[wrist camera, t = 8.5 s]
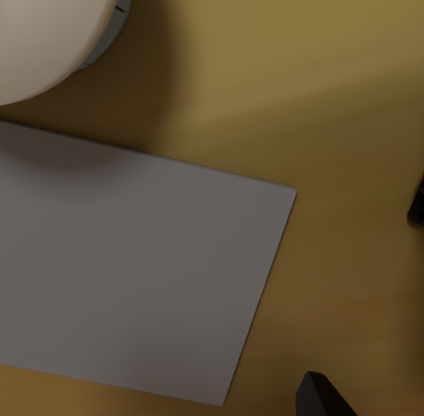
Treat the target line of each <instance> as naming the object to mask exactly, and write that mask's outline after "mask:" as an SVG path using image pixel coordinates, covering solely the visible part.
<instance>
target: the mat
mask: <svg viewBox="0 0 424 416" xmlns="http://www.w3.org/2000/svg"><path fill="white" fill-rule="evenodd" d="M296 193H297V189H296V188H293V187H289V186H285V185H281V184H276V183H272V182H268V181H264V180H259V179H255V178H251V177H246V176H242V175H238V174H234V173H229V172H225V171H221V170H216V169H212V168H208V167H204V166H199V165H195V164H191V163H187V162H182V161H178V160H174V159H169V158H165V157H161V156H157V155H152V154H148V153H144V152H139V151H135V150H131V149H127V148H122V147H118V146H114V145H109V144H105V143H101V142H97V141H92V140H88V139H84V138H80V137H75V136H71V135H67V134H62V133H58V132H54V131H50V130H45V129H41V128H37V127H32V126H28V125H24V124H20V123H15V122H11V121H7V120H2V119H0V364H5V365H10V366H15V367H20V368H25V369H30V370H36V371H41V372H46V373H51V374H56V375H61V376H66V377H71V378H77V379H82V380H87V381H92V382H97V383H102V384H107V385H113V386H118V387H123V388H128V389H133V390H138V391H143V392H148V393H154V394H159V395H164V396H169V397H174V398H179V399H184V400H189V401H195V402H200V403H205V404H210V405H215V406H220V407H222V406H223V403H224V400H225V397H226V394H227V392H228V389H229V386H230V383H231V380H232V377H233V374H234V371H235V369H236V366H237V363H238V360H239V357H240V354H241V351H242V348H243V346H244V343H245V340H246V337H247V334H248V331H249V328H250V325H251V323H252V320H253V317H254V314H255V311H256V308H257V305H258V302H259V300H260V297H261V294H262V291H263V288H264V285H265V282H266V279H267V277H268V274H269V271H270V268H271V265H272V262H273V259H274V256H275V254H276V251H277V248H278V245H279V242H280V239H281V236H282V233H283V231H284V228H285V225H286V222H287V219H288V216H289V213H290V210H291V208H292V205H293V202H294V199H295V196H296Z"/></svg>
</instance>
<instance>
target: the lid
mask: <svg viewBox="0 0 424 416" xmlns="http://www.w3.org/2000/svg"><path fill="white" fill-rule="evenodd" d="M116 3H117V0H0V105H7V104H12V103H16V102H20V101H23V100H27V99H30V98H32V97H35V96H37V95H39V94H41V93H44V92H46V91H48V90H49V89H51V88H52V87H54V86H56V85H57V84H59V83H60V82H62V81H63V80H65V79H66V78H67V77H68V76H69V75H70V74H71V73H72V72H73V71H75V70H76V69H77V68H78V67H79V66H80V65H81V64H82V63H83V61H84V60H85V59H86V58H87V56H88V55H89V54H90V53H91V51H92V50H93V49H94V48H95V46H96V44H97V43H98V41H99V39H100V37H101V36H102V34H103V32H104V31H105V29H106V27H107V25H108V22H109V20H110V18H111V15H112V13H113V11H114V8H115V6H116Z"/></svg>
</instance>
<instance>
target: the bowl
mask: <svg viewBox="0 0 424 416" xmlns="http://www.w3.org/2000/svg"><path fill="white" fill-rule="evenodd" d="M132 3H133V0H117V3H116V6H115V8H114V11H113V13H112V15H111V18H110V20H109V22H108V25H107V27H106V29H105V31H104V32H103V34H102V36H101V37H100V39H99V41H98V43H97V44H96V46H95V48H94V49H93V50H92V51H91V53H90V54H89V55H88V56H87V58H86V59H85V60H84V61H83V63H82V64H81V65H80V66H79V67H78V68H77V69H76V70H75V71H73V72H72V73H71V74H73V73H75V72H77V71H80V70H82V69H84V68H86V67H87V66H89V65H90V64H92V63H93V62H95V61H96V60H97V59H98V58H100V57H101V56H102V55H103V54H104V53H105V52H106V51H107V50H108V49H109V48H110V46H111V45H112V44H113V43H114V42H115V40H116V38H117V37H118V35H119V34H120V32H121V30H122V29H123V27H124V24H125V22H126V20H127V18H128V15H129V12H130V9H131V6H132Z"/></svg>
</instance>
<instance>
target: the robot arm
mask: <svg viewBox="0 0 424 416" xmlns="http://www.w3.org/2000/svg"><path fill="white" fill-rule="evenodd" d="M419 212H422V213H421V215H420V216H419V217H416V215H417V214H418V213H419ZM408 216H409V218H410V219H411V220H412V221H413V222H415V223H417V224H421V225H424V179H423V181H422V183H421V185H420V190H419V192H418V194H417V196H416V198H415V200H414V202H413V204H412V206H411V208H410V210H409V213H408ZM296 416H357V414H356V413H355V412H354V411H353V409H352V408H351V407H350V406H349V404H348V403H347V402H346V401H345V400H344V398H343V397H342V396H341V395H340V393H339V392H338V391H337V390H336V388H335V387H334V386H333V385H332V383H331V382H330V381H329V380H328V379H327V377H326V376H325V375H324V374H322V373H318V372H313V371H308V372H307V373H306V374H305V376H304V378H303V380H302V382H301V384H300V386H299V388H298V390H297V393H296Z"/></svg>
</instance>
